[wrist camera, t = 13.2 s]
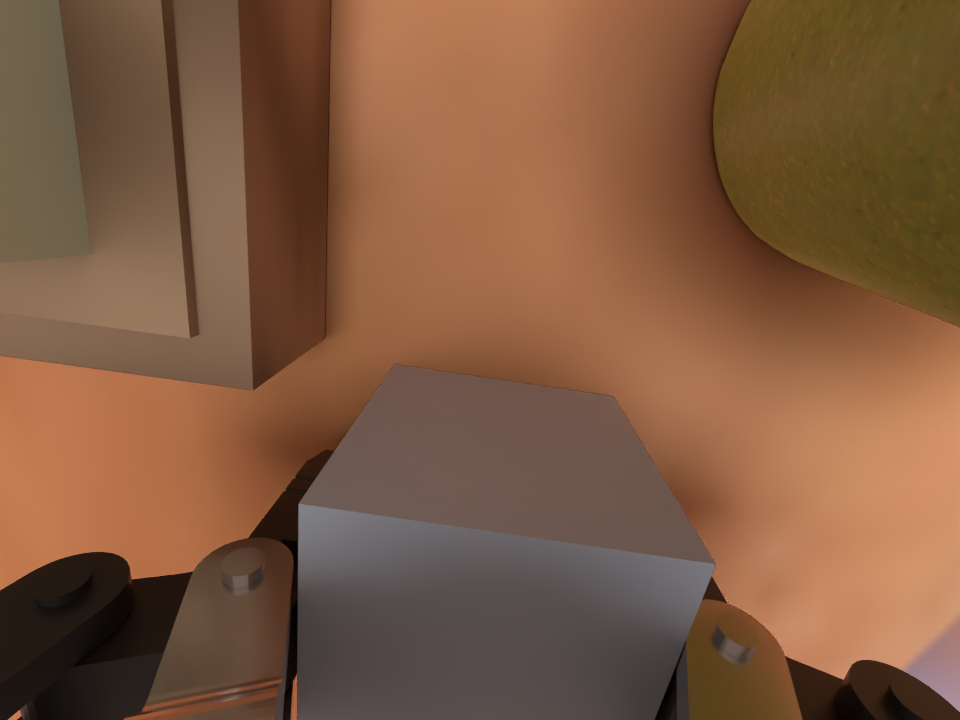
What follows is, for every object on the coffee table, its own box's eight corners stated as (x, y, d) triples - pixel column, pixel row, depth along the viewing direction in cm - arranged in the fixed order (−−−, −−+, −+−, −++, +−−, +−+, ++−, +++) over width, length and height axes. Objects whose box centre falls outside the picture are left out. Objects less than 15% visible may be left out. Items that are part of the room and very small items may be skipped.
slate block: (568, 569, 12) (615, 817, 7) (379, 542, 12) (297, 772, 7) (613, 396, 10) (716, 564, 5) (394, 364, 10) (298, 503, 5)
